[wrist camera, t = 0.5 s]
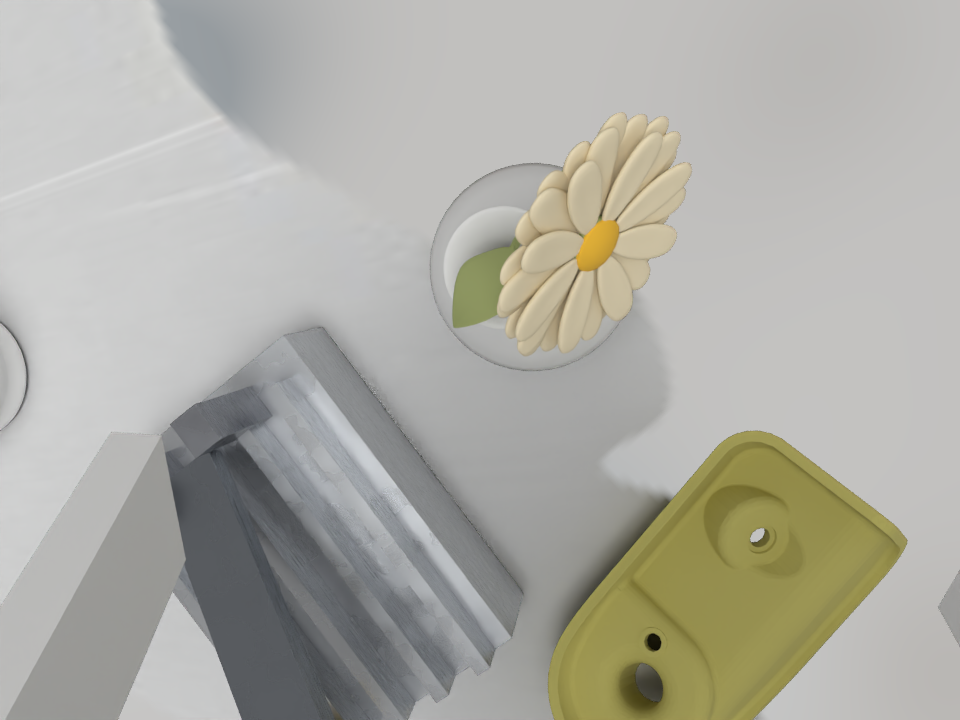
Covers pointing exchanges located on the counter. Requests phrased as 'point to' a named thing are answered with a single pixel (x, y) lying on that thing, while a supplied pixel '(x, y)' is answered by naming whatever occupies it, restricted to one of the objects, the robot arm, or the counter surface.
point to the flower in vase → (558, 246)
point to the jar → (10, 377)
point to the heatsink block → (350, 530)
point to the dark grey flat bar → (242, 599)
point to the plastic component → (725, 590)
